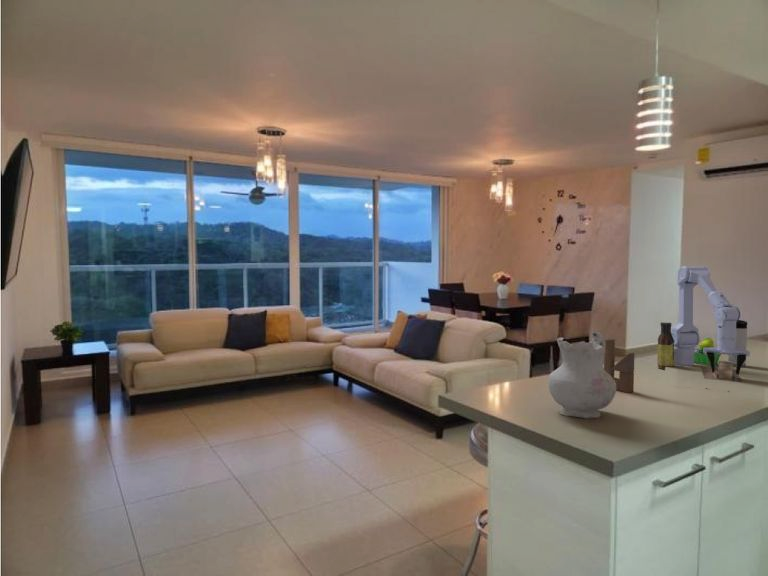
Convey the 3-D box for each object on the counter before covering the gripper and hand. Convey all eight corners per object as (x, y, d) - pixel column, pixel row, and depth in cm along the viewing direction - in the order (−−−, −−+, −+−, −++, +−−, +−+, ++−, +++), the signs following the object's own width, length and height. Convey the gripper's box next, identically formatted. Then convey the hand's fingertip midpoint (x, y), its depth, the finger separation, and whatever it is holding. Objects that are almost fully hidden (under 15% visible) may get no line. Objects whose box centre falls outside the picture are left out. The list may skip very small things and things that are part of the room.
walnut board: (703, 382, 191) (704, 376, 190) (700, 370, 210) (701, 364, 209) (742, 385, 185) (742, 379, 184) (735, 373, 204) (735, 367, 204)
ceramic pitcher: (565, 402, 170) (561, 329, 170) (627, 408, 158) (622, 330, 157) (541, 419, 154) (535, 338, 153) (607, 427, 141) (602, 339, 141)
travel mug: (739, 363, 221) (741, 319, 220) (748, 367, 215) (750, 321, 213) (724, 363, 222) (726, 318, 221) (733, 366, 215) (735, 320, 214)
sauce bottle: (676, 370, 210) (677, 323, 208) (660, 370, 211) (661, 323, 209) (670, 367, 216) (671, 321, 215) (654, 366, 217) (655, 321, 216)
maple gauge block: (717, 378, 190) (717, 362, 190) (716, 375, 195) (716, 360, 194) (732, 379, 188) (732, 363, 188) (730, 376, 193) (731, 361, 192)
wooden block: (627, 393, 176) (628, 342, 175) (600, 386, 186) (601, 338, 184) (634, 391, 178) (635, 341, 177) (606, 385, 188) (607, 337, 186)
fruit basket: (685, 361, 227) (686, 337, 226) (697, 359, 230) (698, 335, 230) (710, 366, 216) (711, 340, 216) (723, 364, 220) (724, 339, 219)
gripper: (704, 338, 190) (703, 373, 191) (751, 341, 183) (749, 377, 184) (703, 335, 197) (702, 369, 197) (748, 338, 189) (747, 373, 190)
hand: (725, 373), depth 191 cm, fingers open, 7 cm apart
